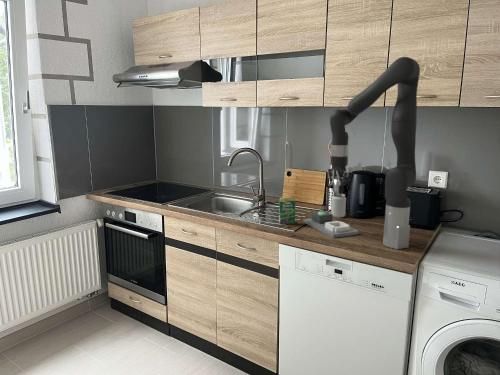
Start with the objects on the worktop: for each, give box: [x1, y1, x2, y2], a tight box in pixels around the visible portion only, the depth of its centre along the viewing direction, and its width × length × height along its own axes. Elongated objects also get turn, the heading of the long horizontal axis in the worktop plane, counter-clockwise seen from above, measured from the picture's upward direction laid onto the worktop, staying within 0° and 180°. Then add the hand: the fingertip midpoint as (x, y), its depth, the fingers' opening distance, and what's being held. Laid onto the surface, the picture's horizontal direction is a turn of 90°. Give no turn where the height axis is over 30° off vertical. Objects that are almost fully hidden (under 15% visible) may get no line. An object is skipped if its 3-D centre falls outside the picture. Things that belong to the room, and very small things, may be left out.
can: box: [330, 193, 347, 219], centre depth 196 cm, size 8×8×12 cm
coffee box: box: [278, 197, 296, 225], centre depth 182 cm, size 8×3×13 cm, turn 91°
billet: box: [332, 178, 343, 197], centre depth 166 cm, size 4×4×8 cm
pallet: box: [303, 210, 360, 239], centre depth 176 cm, size 26×14×6 cm, turn 22°
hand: (337, 192), depth 167 cm, fingers closed on billet, 4 cm apart
